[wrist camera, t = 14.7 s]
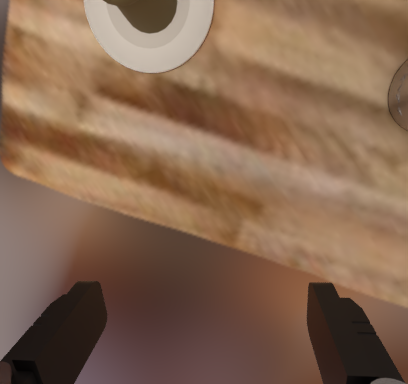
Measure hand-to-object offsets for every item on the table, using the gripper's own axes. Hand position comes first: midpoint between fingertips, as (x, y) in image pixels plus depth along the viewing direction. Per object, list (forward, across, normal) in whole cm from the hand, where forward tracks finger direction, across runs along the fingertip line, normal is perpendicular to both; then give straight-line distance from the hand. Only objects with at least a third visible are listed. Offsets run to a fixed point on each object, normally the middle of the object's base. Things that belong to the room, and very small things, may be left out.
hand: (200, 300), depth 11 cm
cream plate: (+26, +7, -17) cm, 32 cm away
